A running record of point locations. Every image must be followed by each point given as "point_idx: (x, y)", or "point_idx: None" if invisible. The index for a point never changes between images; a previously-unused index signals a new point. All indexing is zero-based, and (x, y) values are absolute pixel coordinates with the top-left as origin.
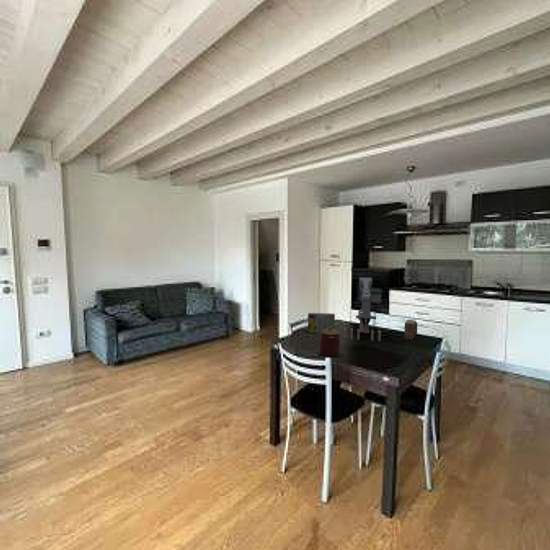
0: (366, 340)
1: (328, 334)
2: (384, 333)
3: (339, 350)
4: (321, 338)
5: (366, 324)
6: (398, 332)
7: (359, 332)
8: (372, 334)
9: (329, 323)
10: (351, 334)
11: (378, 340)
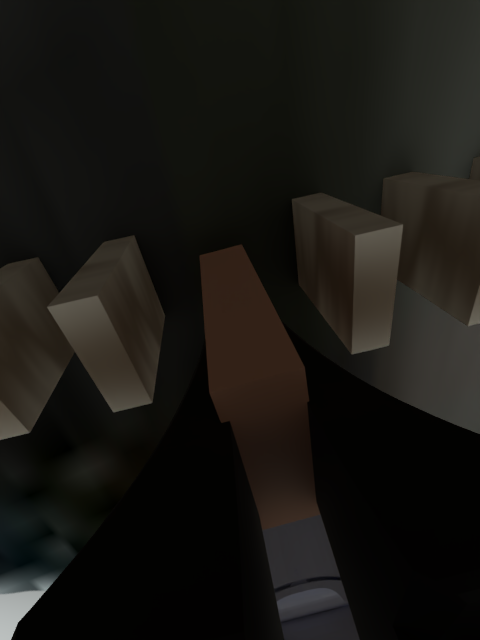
0: (195, 211)
1: None
2: (106, 507)
3: None
4: None
5: (234, 371)
6: (22, 562)
7: (341, 222)
8: (95, 273)
9: None
10: (453, 181)
11: (31, 260)
